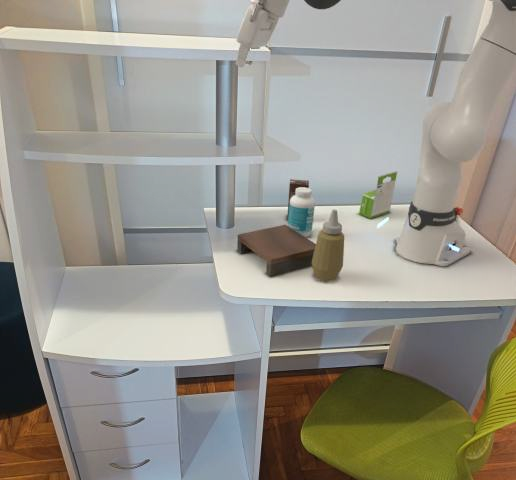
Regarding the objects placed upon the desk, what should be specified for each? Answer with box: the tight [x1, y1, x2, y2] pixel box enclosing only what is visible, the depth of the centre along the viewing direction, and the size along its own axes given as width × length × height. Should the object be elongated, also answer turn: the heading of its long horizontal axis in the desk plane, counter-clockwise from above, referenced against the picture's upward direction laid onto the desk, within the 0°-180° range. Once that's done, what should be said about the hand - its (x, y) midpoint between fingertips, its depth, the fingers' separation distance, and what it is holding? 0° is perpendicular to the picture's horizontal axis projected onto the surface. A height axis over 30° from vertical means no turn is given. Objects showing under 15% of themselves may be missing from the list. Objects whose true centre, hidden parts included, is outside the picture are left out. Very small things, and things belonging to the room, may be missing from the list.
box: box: [286, 179, 310, 221], centre depth 160 cm, size 6×4×12 cm
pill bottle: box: [287, 187, 316, 238], centre depth 150 cm, size 8×7×14 cm
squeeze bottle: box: [311, 209, 345, 282], centre depth 127 cm, size 8×8×18 cm
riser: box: [236, 224, 316, 278], centre depth 139 cm, size 16×17×5 cm
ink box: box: [358, 170, 398, 220], centre depth 166 cm, size 10×5×14 cm, turn 130°
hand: (243, 65), depth 119 cm, fingers open, 8 cm apart
